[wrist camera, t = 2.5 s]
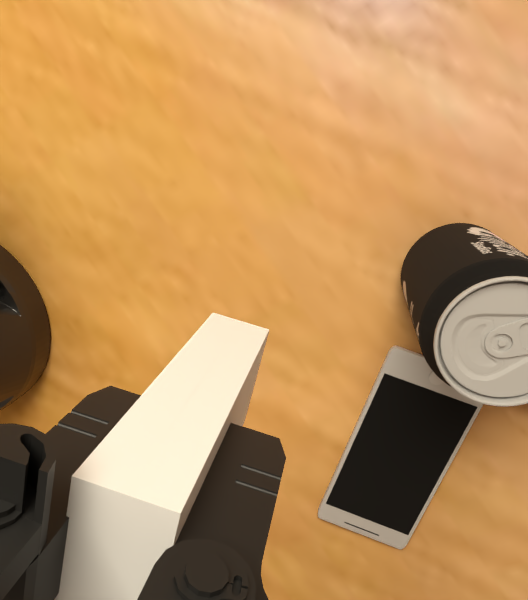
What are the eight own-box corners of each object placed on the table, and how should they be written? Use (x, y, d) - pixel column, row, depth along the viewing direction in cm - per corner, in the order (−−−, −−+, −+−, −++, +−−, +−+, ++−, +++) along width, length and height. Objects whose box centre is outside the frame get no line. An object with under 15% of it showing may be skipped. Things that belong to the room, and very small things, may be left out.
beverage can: (387, 240, 32) (404, 294, 20) (494, 206, 30) (577, 244, 19) (415, 332, 33) (446, 430, 22) (519, 305, 31) (610, 395, 20)
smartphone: (491, 377, 34) (495, 384, 33) (402, 542, 39) (403, 552, 38) (391, 341, 34) (392, 346, 33) (316, 509, 39) (315, 518, 38)
